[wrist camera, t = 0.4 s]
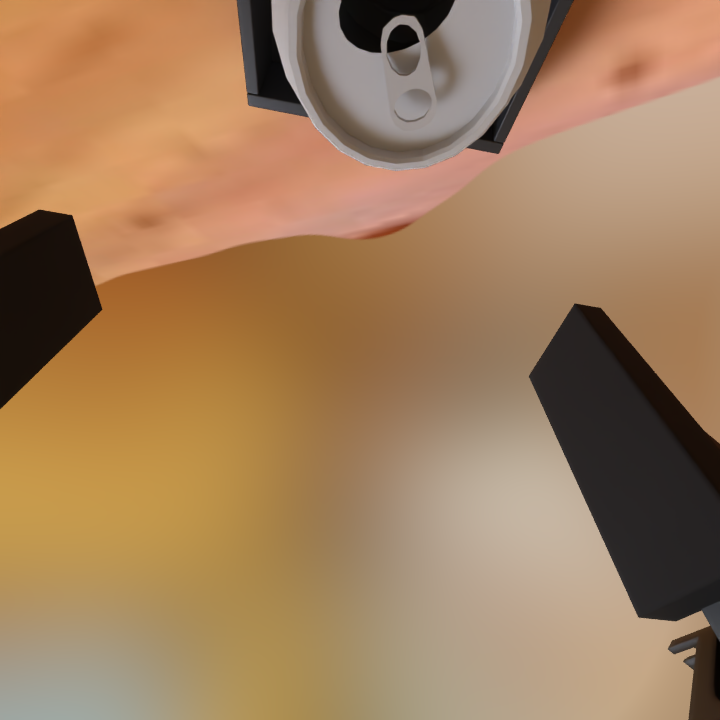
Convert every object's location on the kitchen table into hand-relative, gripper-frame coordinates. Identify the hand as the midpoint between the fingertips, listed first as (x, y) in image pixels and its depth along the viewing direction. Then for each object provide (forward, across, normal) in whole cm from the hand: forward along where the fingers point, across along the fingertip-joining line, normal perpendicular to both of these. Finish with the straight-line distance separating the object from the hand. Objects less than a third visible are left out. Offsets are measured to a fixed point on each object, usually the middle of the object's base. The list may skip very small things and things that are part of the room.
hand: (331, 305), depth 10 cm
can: (+15, +1, +10) cm, 18 cm away
